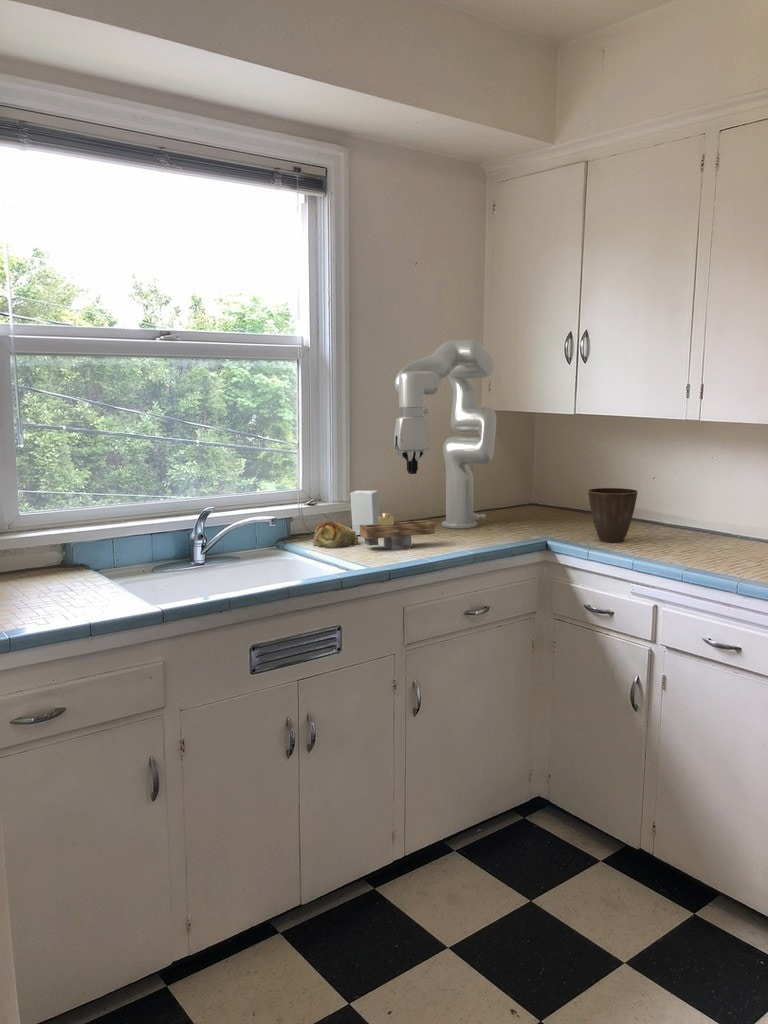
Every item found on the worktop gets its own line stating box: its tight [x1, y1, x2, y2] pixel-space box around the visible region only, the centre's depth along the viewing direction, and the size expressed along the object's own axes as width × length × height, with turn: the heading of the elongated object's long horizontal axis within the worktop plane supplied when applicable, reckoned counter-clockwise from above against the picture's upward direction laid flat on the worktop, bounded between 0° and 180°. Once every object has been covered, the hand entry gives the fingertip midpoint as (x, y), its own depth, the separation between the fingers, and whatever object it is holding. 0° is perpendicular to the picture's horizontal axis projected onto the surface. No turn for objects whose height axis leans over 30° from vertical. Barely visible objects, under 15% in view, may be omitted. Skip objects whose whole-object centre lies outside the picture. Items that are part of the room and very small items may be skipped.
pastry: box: [312, 520, 359, 549], centre depth 255 cm, size 14×12×8 cm
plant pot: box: [587, 487, 639, 544], centre depth 256 cm, size 15×15×16 cm
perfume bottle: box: [378, 512, 395, 527], centre depth 248 cm, size 4×3×5 cm
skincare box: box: [349, 489, 381, 535], centre depth 271 cm, size 8×6×15 cm
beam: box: [359, 519, 436, 551], centre depth 250 cm, size 22×8×7 cm, turn 110°
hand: (412, 473), depth 249 cm, fingers closed
